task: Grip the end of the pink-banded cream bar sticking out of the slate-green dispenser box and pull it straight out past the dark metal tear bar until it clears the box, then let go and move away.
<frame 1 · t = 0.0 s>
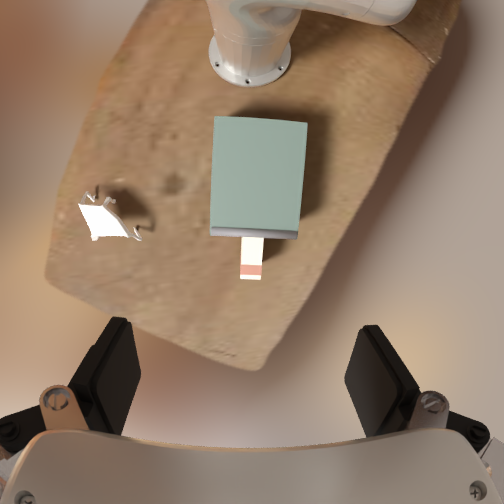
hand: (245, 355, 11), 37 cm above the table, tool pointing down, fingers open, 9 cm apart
pink-banded cream bar: (252, 232, 44), point 4 cm above the table, slide at 0.0 cm
dispenser: (254, 173, 44), on the table
white scroll-footed stand: (116, 218, 46), on the table
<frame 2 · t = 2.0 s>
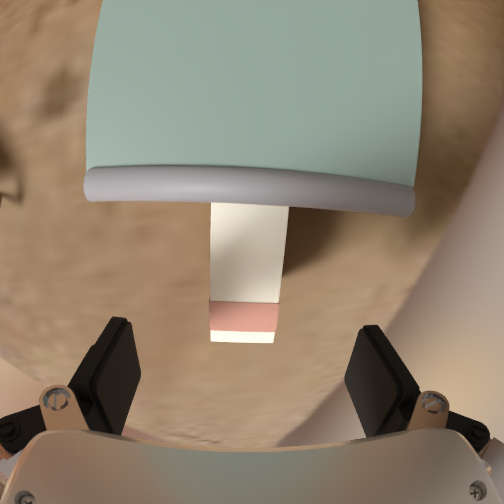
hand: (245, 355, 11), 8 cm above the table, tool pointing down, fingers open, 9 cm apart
pink-banded cream bar: (248, 195, 14), point 3 cm above the table, slide at 0.0 cm
dispenser: (255, 46, 14), on the table
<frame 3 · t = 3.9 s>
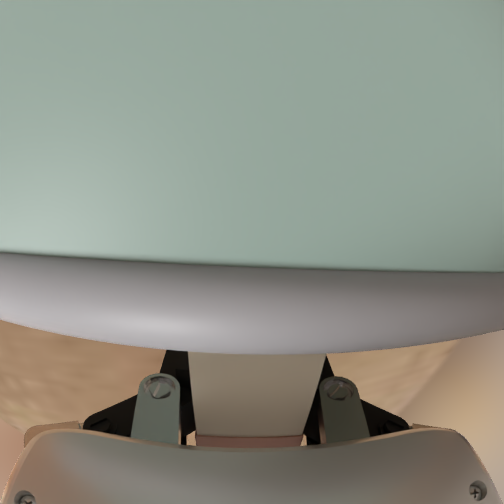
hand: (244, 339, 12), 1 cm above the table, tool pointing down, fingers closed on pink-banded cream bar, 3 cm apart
pink-banded cream bar: (255, 267, 8), point 3 cm above the table, slide at 0.0 cm, touching gripper
dispenser: (264, 20, 8), on the table
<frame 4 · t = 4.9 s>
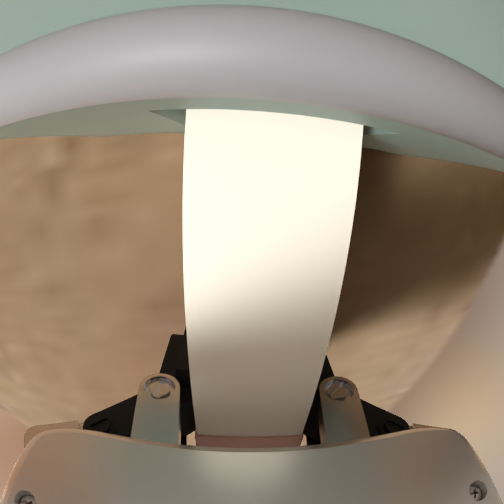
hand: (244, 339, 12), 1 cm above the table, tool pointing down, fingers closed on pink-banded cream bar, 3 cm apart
pink-banded cream bar: (255, 267, 8), point 4 cm above the table, slide at 3.2 cm, touching gripper
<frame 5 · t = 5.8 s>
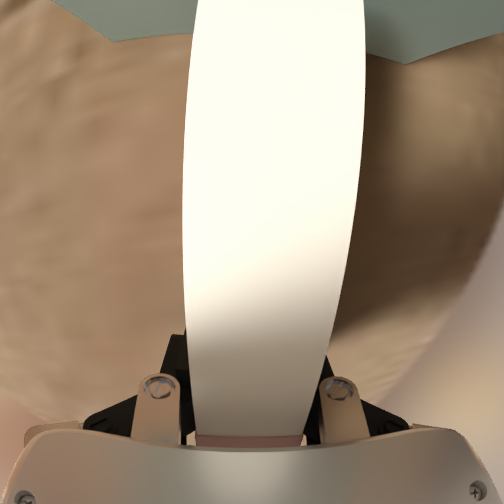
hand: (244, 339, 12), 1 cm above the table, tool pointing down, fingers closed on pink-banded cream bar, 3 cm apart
pink-banded cream bar: (255, 267, 8), point 3 cm above the table, slide at 7.3 cm, touching gripper
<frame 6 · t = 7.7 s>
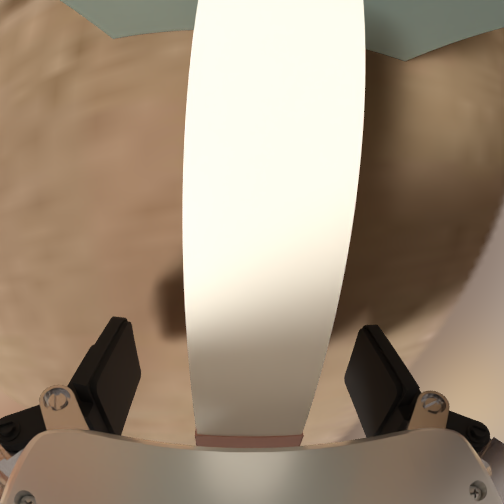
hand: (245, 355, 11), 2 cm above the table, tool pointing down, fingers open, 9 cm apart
pink-banded cream bar: (255, 267, 8), point 4 cm above the table, slide at 7.5 cm
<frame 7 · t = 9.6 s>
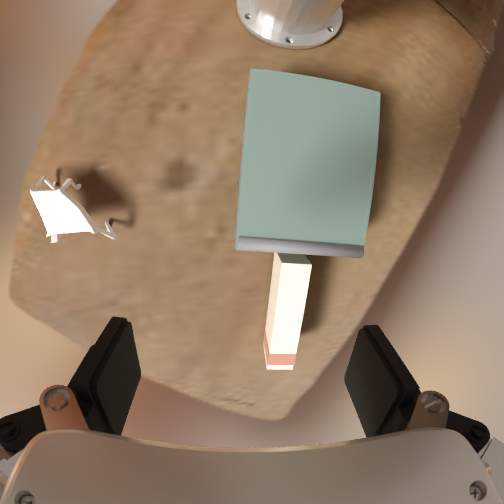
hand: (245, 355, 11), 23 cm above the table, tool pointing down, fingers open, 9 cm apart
pink-banded cream bar: (284, 311, 32), point 4 cm above the table, slide at 7.5 cm
dispenser: (295, 163, 31), on the table
white scroll-footed stand: (83, 210, 31), on the table
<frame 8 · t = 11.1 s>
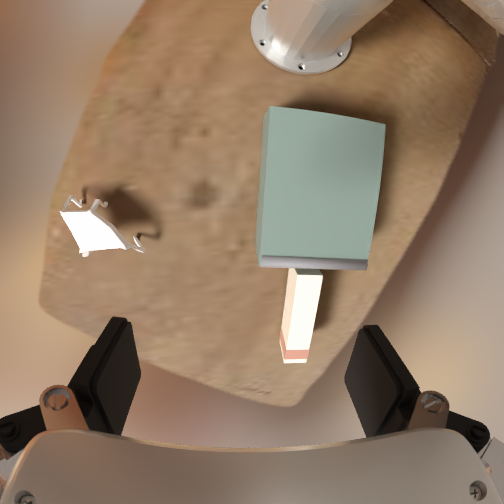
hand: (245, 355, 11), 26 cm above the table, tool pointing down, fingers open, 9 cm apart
pink-banded cream bar: (298, 312, 37), point 4 cm above the table, slide at 7.5 cm
dispenser: (308, 183, 35), on the table
white scroll-footed stand: (111, 225, 36), on the table
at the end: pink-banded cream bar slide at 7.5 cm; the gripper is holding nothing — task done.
